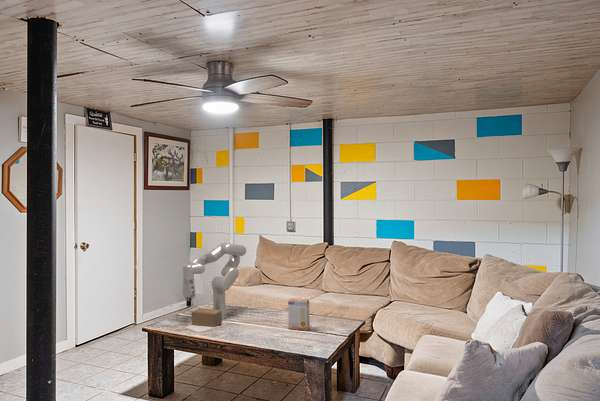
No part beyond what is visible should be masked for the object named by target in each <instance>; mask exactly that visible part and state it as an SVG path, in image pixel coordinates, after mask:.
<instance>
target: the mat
mask: <svg viewBox="0 0 600 401" xmlns="http://www.w3.org/2000/svg"><path fill="white" fill-rule="evenodd" d="M220 327H221V326H220V325H218V326H216V327H212V326H201V325H192V324H191V325H187V326H184V329H186V330H189V331H190V332H191V331H192V332H195V333H197V334H201V333H203V332H208V331H211V330H214V329H215V330H216V329H218V328H220Z"/></svg>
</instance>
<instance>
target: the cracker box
mask: <svg viewBox="0 0 600 401" xmlns="http://www.w3.org/2000/svg"><path fill="white" fill-rule="evenodd" d="M287 306H288V307H287V309H288V310H287V312H288V314H287V315H288V330H292V331H293V330H295V331H296V330H297V331H305V332H307V331H309V330H310V329H311V328H310V325H311V324H310V323H311V322H310V299H307V298H305V299H304V298H289V299H288V300H287Z"/></svg>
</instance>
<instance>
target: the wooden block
mask: <svg viewBox="0 0 600 401" xmlns="http://www.w3.org/2000/svg"><path fill="white" fill-rule="evenodd" d="M222 322H223V319H222V311H221V310H213V308H212V309H210V308H199V307H198V308H197V309H194V310H192V311H191V325H201V326H212V327H216V326H220V325H221V324H222Z"/></svg>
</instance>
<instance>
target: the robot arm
mask: <svg viewBox="0 0 600 401" xmlns="http://www.w3.org/2000/svg"><path fill="white" fill-rule="evenodd" d="M246 253H247V248H246V247H245V245H243V244H242V245H240V244H235V243H228V242H221V243H220V244H218V245H217V246H215V247H214V248H213V249H212V250H211V251H209V252H208V253H205V254H204V255H201V256H199V257H198V258H196V259H195V260H194V261H192V262H191V263H190V264H188V263H187V264H184V265H183V267H182V268H183V269H182V276H183V278H182V280H183V285H182V296H183V298H185V302H186V307H187V308H188V307H191V306H192V301H193V300H194V299H195V298H194V297H196V285H195V281H194V280H195V275H201V274H203V273H204V272H205V270H206V267H205V265H207V264H212V263H215V262H217V261H218V260H219V259H221V258H222V257H223V256H224V255H228V256H230V257H229V258H228V261H227V262H226V263H225V265H224V267H223V268H222V269H221V272H220V275H221V276H218V275H217V276H215V277H213V278H212V279H211V290H212V309H213V310H221V311H222V320H224V319H227V318H228V314H230V313H231V309H229V310H226V307H227V306H226V291H228V290H229V289H230V288H231V287H232V285H233V284H234V283H235V282H236V281H237V279H238V277H239V272H240V271H239V269H238V267H239V265H240V261H241V257H243V256H245V255H246Z"/></svg>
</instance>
